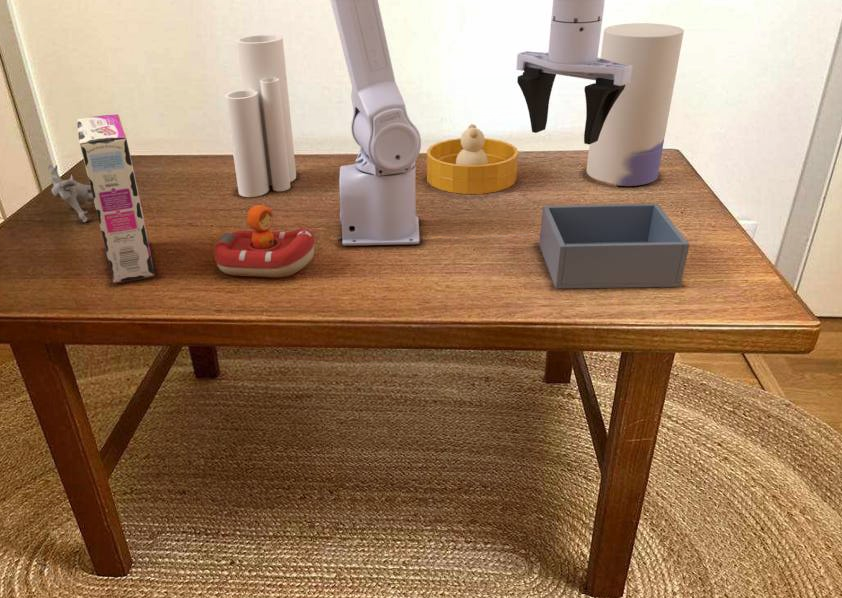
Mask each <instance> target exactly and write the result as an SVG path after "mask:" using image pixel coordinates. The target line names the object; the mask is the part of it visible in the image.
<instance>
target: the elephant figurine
mask: <svg viewBox="0 0 842 598" xmlns="http://www.w3.org/2000/svg"><path fill="white" fill-rule="evenodd" d="M47 170H48V171H49V174H50V176H49V181H50V183H51V184H52V185H53V186H52V188H51V189H50V191H51V194H52V195H53V196H54V197H55V198H61V199H62V200H63V202H65V203H67V204H69V206H70V207H71V208H72V209H74V210H75V212H76V213H77V214H78V218H79V219H80V220H81V221H82V222H83V223H86V222H88V217H87V216H86V214H88V213H89V211H88V210H86V211H84V210H83V209H82V208H81V205H84V204H85V203H87V202H94V199H93V195H92V191H91V187H90V184H83V183H81V182H77V181H76V180H75V179H74V176H73V175H72V174H70V178H69V179H65V180H63V179H62V178H61V176H60V175H59V173H58V165H55V166H54V167H53V165H52V163H49V164H48V165H47Z"/></svg>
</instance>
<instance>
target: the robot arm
mask: <svg viewBox="0 0 842 598" xmlns="http://www.w3.org/2000/svg"><path fill="white" fill-rule="evenodd" d="M605 2H606V0H552V9H551V19H550V29H549V40H548V52H539V51H528V50H526V51H522V52H519V53H517V55H516V70H517V71H523V72H522V74H521V75H518V76H517V80H516V81H517V84H518V86H519V89H520V90H521V93H522V94H523V97H524V100H525V104H526V106H527V110H528V111H527V112H528V116H529V120H530V127H531V133H534V134H537V133H540V132H542V131H545V130H546V127H547V123H548V115H549V105H550V99H551V94H552V89H553V87H554V82H555V79H556V76H565V77H570V78H571V77H572V78H578V79H584V80H589V81H595V82H594V83H593V82H592V83H589V84H588V85H585V86H584V89H583V90H584V96H585V108H586V109H585V111H586V112H585V115H586V116H585V125H584V133H583V144H584V145H590V144H592V143H594V142H596V141H598V138H599V135H600V132H601V130H602V127H603V125H604V122H605V120H606V118H607V116H608V114H609V112H610V110H611V108H612V106H613V105H614V103H615V101H616V100H617V98H618V97H619V95H620V94H621V93H622V91H623V90H624V88H625V84H628V83H630V79H631V73H632V65H626V64H621V63H617V62H613V61H609V60H605V59H602V58H600V57H599V56H598V55H599V49H600V43H601V42H600V41H601V34H602V25H603V18H604V9H605ZM330 4H331V8H332V13H333V16H334V20H335V25H336V28H337V32H338V36H339V40H340V44H341V48H342V52H343V56H344V60H345V64H346V68H347V72H348V75H349V76H348V77H349V80H350V84H351V94H350V100H351V103H352V109H353V113H352V118H351V122H350V129H351V130H350V131H351V135H352V137H353V139H354V141H355V143H356V144H357V145H358V146H359V147H360V150H359V152H358V154H357V156H356V158H355V163H353V164H347V165H342V166H340V167H339V203H340V209H339V211H340V212H339V222H340V225H341V235H342V241H341V244H342V246H344V247H345V246H346V247H347V246H348V247H350V246H397V245H399V246H400V245H402V246H403V245H404V246H405V245H419V244H420V222H419V221H420V219H419V216H417V213H416V211H417V208H416V207H417V205H416V204H417V203H416V201H417V200H416V199H417V197H416V194H417V192H416V187H417V186H416V185H417V184H416V183H417V182H416V180H417V179H416V178H417V177H416V172H417V171H416V160H417V159H418V157H419V155H420V152H421V149H422V148H421V147H422V138H421V134H420V131H419V130H418V128H417V126H416V125H415V124H414V123H413V121H412V120H411V119H410V117H409V114H408V112H407V107H406V103H405V101H404V99H403V96H402V94H401V91H400V89H399V87H398V85H397V83H396V78H395V73H394V70H393V64H392V60H391V59H392V58H391V55H390V50H389V45H388V42H387V36H386V31H385V27H384V22H383V19H382V18H383V17H382V14H381V13H382V12H381V8H380V4H379V0H330Z"/></svg>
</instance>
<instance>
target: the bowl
mask: <svg viewBox="0 0 842 598" xmlns="http://www.w3.org/2000/svg"><path fill="white" fill-rule="evenodd" d="M484 138H485V141H484V145H483V147H482V148H481V149H482V150H483V151H484V152H485V154H486V156H487V159H488V164H486V165H458V164H456V158H457V156H458V154H459V153H460V152H461V151H462V150H463V147H462V145H461V137H459V138H452V139H446V140H443V141H438V142H436V143H434V144H432V145H430V146H429V147H428V148H427V150H426V182H427V183H428V184H429V185H430V186H431V187H433V188H435V189H438V190H440V191H443V192H448V193H452V194H460V195H461V194H462V195H482V194H490V193H496V192H497V193H498V192H499V191H504V190H506V189H508V188H510V187H512V186H513V185H515V183H516V181H517V180H518V168H519V167H518V166H519V154H520V153H519V150H518V148H517V147H516V146H515V145H513V144H512V143H509V142H506V141H503V140H500V139H493V138H486V137H484Z"/></svg>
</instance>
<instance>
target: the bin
mask: <svg viewBox="0 0 842 598" xmlns="http://www.w3.org/2000/svg"><path fill="white" fill-rule="evenodd" d="M539 231H540V233H539V242H538V245H539V248H540V250H541V253H542V256H543V260H544V261H545V264H546V267H547V270H548V273H549V275H550V277H551V280H552V283H553V286H554V288H555V289H556V290H561V289H563V290H564V289H566V290H567V289H617V288H618V289H622V288H623V289H624V288H630V289H631V288H676V287H677V288H680V287H681V286H682V280H683V277H684V271H685V269H686V268H685V267H686V262H687V259H688V258H687V257H688V253H689V250H690V246H691V245H690V242H688V240H687V239H686V238H685V236H684V235H683V233H682V232H681V231H680V230H679V228H678V227H677V226H676V225H675V224H674V222H673V221H672V220H671V218H670V217H669V216H668V215H667V214H666V212H665V211H664V210H663V208H662V207H661V206H660V205H659V203H618V204H615V203H614V204H574V205H572V204H571V205H543V206H542V212H541V222H540V230H539Z"/></svg>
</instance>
